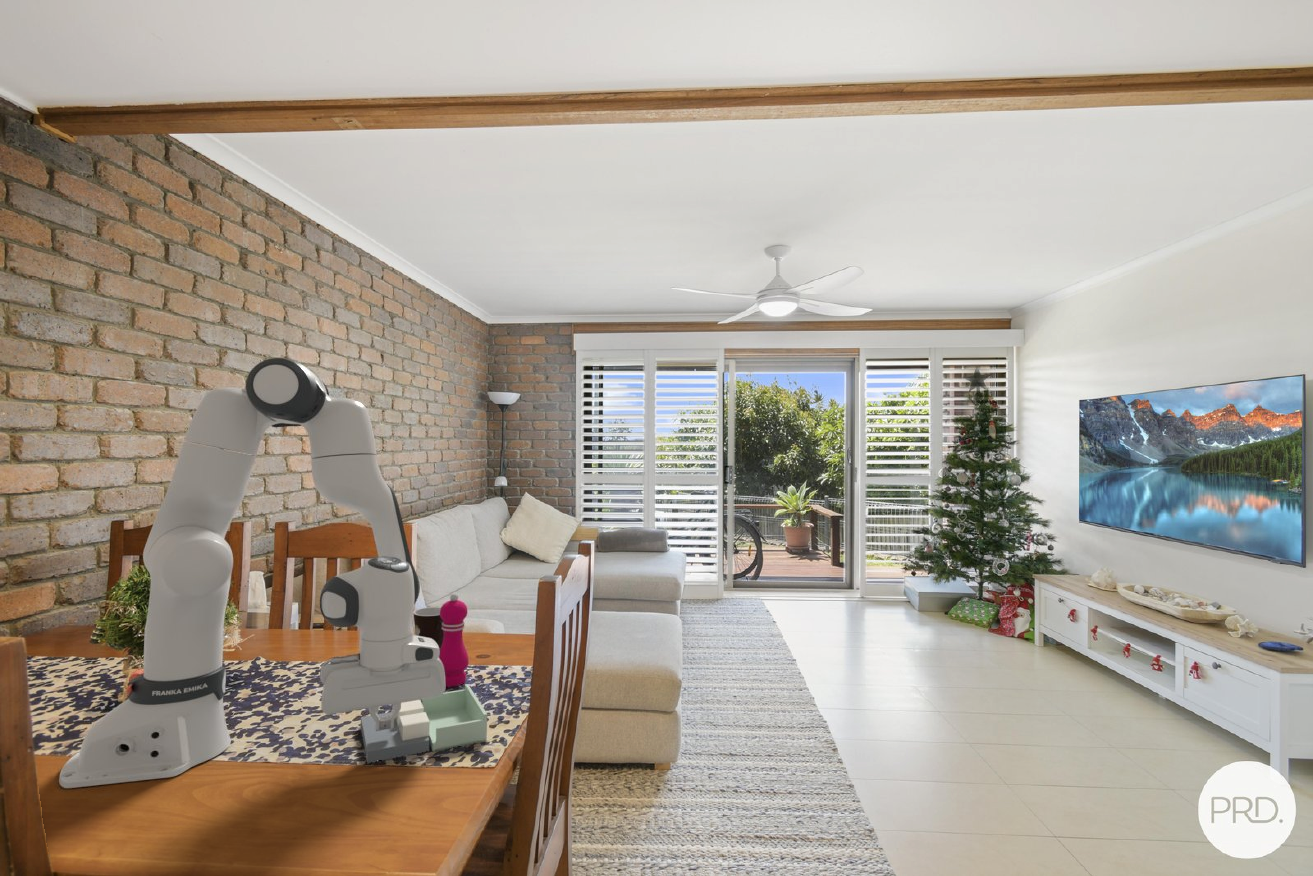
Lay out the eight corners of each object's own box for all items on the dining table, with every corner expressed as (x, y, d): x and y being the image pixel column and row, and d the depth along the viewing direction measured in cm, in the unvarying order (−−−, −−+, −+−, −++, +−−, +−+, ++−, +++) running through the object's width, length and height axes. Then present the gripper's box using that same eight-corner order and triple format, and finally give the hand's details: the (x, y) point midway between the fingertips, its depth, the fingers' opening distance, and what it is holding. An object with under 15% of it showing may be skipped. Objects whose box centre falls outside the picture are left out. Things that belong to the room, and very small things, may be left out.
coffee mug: (413, 645, 170) (414, 608, 170) (447, 643, 173) (448, 606, 173) (410, 660, 159) (411, 620, 159) (446, 658, 162) (448, 618, 162)
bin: (432, 752, 114) (433, 723, 114) (418, 716, 128) (419, 691, 128) (486, 741, 118) (487, 714, 118) (467, 708, 132) (467, 684, 132)
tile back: (397, 725, 119) (398, 712, 119) (394, 716, 123) (395, 703, 123) (423, 721, 121) (423, 708, 121) (419, 712, 125) (420, 699, 125)
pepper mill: (458, 689, 142) (460, 598, 142) (428, 686, 143) (431, 596, 144) (473, 677, 149) (476, 591, 149) (445, 674, 151) (448, 589, 151)
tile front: (402, 740, 113) (402, 726, 113) (399, 730, 117) (399, 716, 117) (429, 735, 116) (429, 721, 116) (425, 725, 119) (425, 712, 119)
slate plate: (367, 763, 109) (367, 751, 109) (360, 727, 122) (360, 717, 122) (429, 751, 114) (429, 740, 114) (416, 718, 127) (416, 708, 127)
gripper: (320, 664, 106) (318, 748, 106) (448, 648, 116) (446, 725, 116) (320, 653, 112) (317, 732, 112) (442, 638, 122) (440, 711, 122)
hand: (384, 728), depth 114 cm, fingers closed
